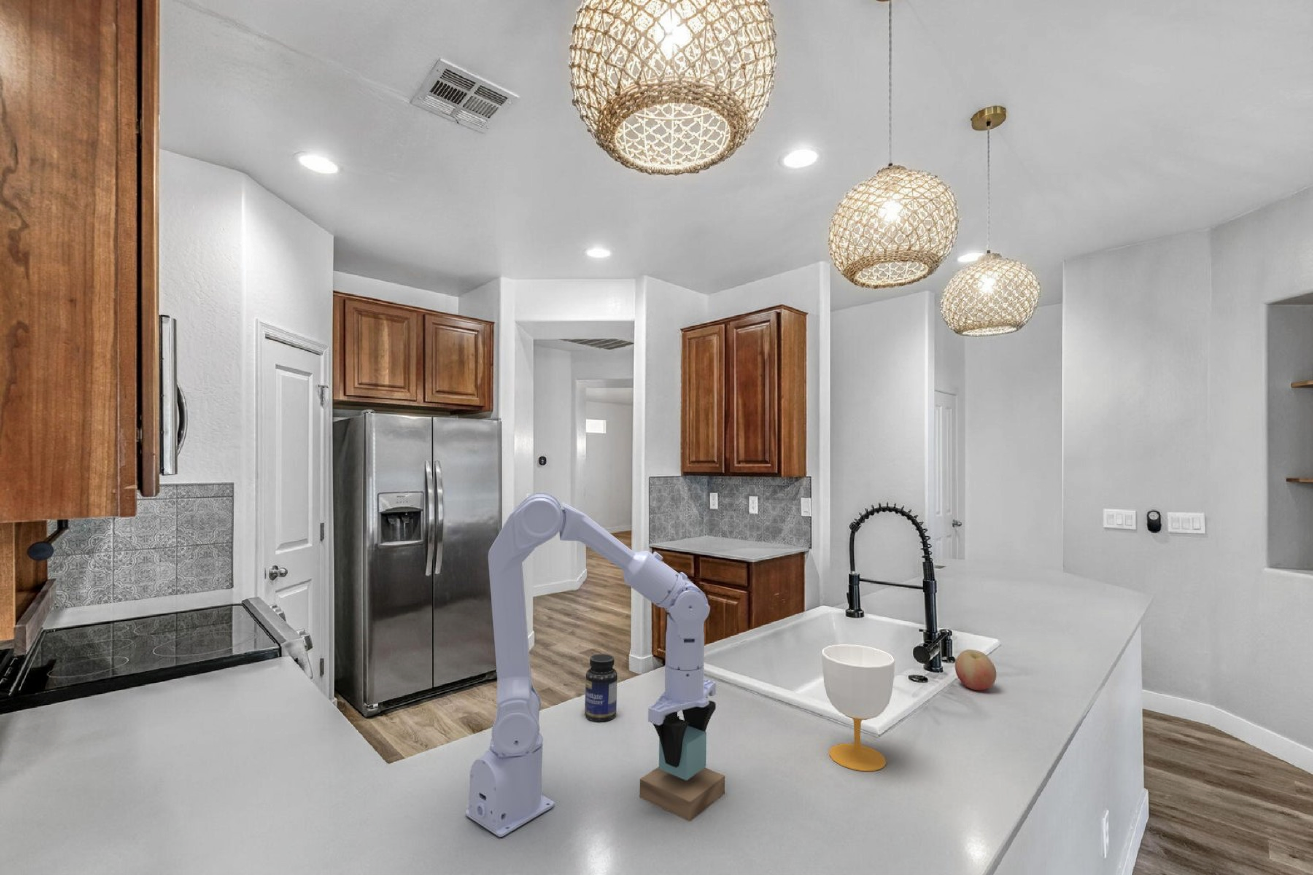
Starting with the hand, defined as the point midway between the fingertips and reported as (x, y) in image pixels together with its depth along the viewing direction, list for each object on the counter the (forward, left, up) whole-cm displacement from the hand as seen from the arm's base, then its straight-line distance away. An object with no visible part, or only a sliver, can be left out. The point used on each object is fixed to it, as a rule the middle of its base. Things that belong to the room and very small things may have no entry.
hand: (683, 757), depth 87 cm
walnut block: (0, 0, -6) cm, 6 cm away
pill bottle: (+12, +28, -6) cm, 31 cm away
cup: (+28, -16, -6) cm, 33 cm away
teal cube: (0, 0, -2) cm, 2 cm away
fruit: (+77, -25, -6) cm, 81 cm away
